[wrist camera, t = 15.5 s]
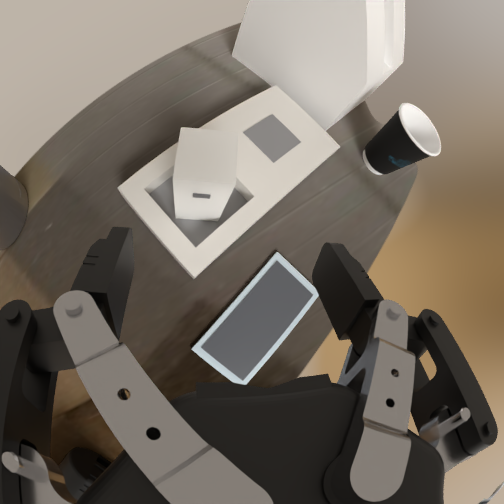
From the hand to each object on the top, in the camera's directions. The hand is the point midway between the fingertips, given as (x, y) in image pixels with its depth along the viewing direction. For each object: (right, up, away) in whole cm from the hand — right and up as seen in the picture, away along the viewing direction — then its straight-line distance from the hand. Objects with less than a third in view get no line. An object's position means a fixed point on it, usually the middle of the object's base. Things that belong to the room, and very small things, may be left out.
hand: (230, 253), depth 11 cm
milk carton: (+9, +29, +26) cm, 40 cm away
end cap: (-20, -28, +9) cm, 36 cm away
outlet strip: (-1, +9, +20) cm, 22 cm away
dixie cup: (+20, +14, +26) cm, 36 cm away
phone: (+2, -7, +18) cm, 20 cm away
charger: (-5, +6, +17) cm, 19 cm away
